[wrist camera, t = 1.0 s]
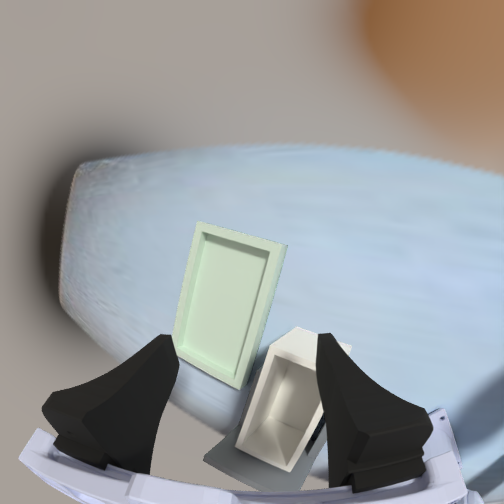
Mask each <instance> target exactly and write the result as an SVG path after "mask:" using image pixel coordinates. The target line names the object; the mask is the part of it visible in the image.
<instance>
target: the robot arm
mask: <svg viewBox="0 0 504 504" xmlns="http://www.w3.org/2000/svg"><path fill="white" fill-rule="evenodd" d="M179 365H180V364H179V361H178V357H177V354H176V351H175V347H174V344H173V340H172V337H171V335H164V334H160V335H159V336H157V337H156V338H155V339H153V340H152V341H151V342H150V343H148V344H147V345H146V346H145V347H143V348H142V349H141V350H140V351H138V352H137V353H136V354H134V355H133V356H132V357H130V358H129V359H128V360H126V361H125V362H123V363H122V364H121V365H119V366H118V367H116V368H114V369H113V370H111V371H109V372H108V373H106V374H104V375H102V376H100V377H98V378H96V379H94V380H91V381H89V382H87V383H84V384H81V385H79V386H75V387H72V388H69V389H65V390H60V391H56V392H53V393H52V394H51V395H50V397H49V398H48V399H47V401H46V402H45V404H44V405H43V406H42V412H43V414H44V416H45V418H46V419H47V420H48V422H49V423H50V424H51V425H52V427H53V428H54V429H55V430H56V431H57V433H58V434H59V435H58V436H57V438H56V437H54V436H53V435H52V434H50V433H48V432H46V431H44V430H42V429H40V428H37V430H36V431H35V432H34V434H33V435H32V437H31V439H30V440H29V442H28V443H27V445H26V446H25V448H24V450H23V451H22V453H21V454H20V456H19V460H20V461H21V462H22V463H23V464H24V465H25V466H27V467H28V468H29V469H30V470H31V471H32V472H33V473H35V474H36V475H37V476H38V477H39V478H41V479H42V480H43V481H44V482H46V483H47V484H49V485H50V486H52V487H54V488H55V489H57V490H59V491H60V492H62V493H64V494H66V495H67V496H69V497H71V498H73V499H75V500H77V501H78V502H80V503H82V504H484V502H483V500H482V498H481V496H480V495H479V493H478V492H477V491H470V490H468V489H467V488H466V485H465V482H464V479H463V476H462V474H461V471H460V470H461V469H462V468H463V466H462V462H461V459H460V455H459V451H458V448H457V444H456V441H455V438H454V434H453V431H452V428H451V425H450V422H449V419H448V416H447V413H446V410H445V409H444V408H441V409H438V410H436V411H435V412H433V413H431V414H429V415H428V414H427V412H426V411H425V409H424V408H422V407H419V406H417V405H414V404H412V403H409V402H407V401H405V400H403V399H401V398H399V397H397V396H396V395H394V394H392V393H390V392H389V391H387V390H386V389H384V388H383V387H381V386H380V385H378V384H377V383H376V382H375V381H373V380H372V379H371V378H370V377H369V376H367V375H366V374H365V373H364V372H363V371H362V370H361V369H360V368H359V367H358V366H357V365H356V364H355V363H354V362H353V360H352V359H351V358H350V357H349V356H348V355H347V354H346V352H345V351H344V350H343V349H342V347H341V346H340V345H339V343H338V342H337V341H336V339H335V338H334V336H333V335H332V334H331V333H324V334H318V339H317V353H316V365H315V366H316V376H317V384H318V389H319V394H320V398H321V403H322V407H323V412H324V417H325V423H326V432H327V445H328V466H329V488H327V489H318V490H307V491H285V492H256V491H236V490H224V489H220V488H216V487H210V486H205V485H198V484H191V483H185V482H180V481H174V480H170V479H165V478H161V477H156V476H152V475H150V467H151V460H152V453H153V448H154V443H155V438H156V434H157V430H158V426H159V422H160V419H161V416H162V413H163V411H164V408H165V406H166V403H167V401H168V399H169V396H170V394H171V391H172V389H173V386H174V384H175V381H176V378H177V374H178V370H179ZM442 416H444V418H443V419H440V418H441V417H442ZM457 462H458V463H457Z"/></svg>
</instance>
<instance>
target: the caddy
mask: <svg viewBox="0 0 504 504" xmlns="http://www.w3.org/2000/svg"><path fill="white" fill-rule="evenodd" d="M317 339H318V334H316V333H313V332H310V331H308V330H305V329H302V328H299V327H297V326H296V327H295V328H294V329H292V330H291V331H289V332H288V333H287V334H285V335H284V336H282V337H281V338H280V339H278V340H277V341H275V342H274V343H272V344H271V345H270V347H269V350H268V353H267V356H266V359H265V362H264V365H263V368H262V371H261V374H260V377H259V380H258V383H257V386H256V389H255V392H254V395H253V398H252V401H251V403H250V406H249V409H248V412H247V415H246V418H245V420H244V423H243V426H242V429H241V431H240V434H239V437H238V439H237V442H236V445H235V447H236V448H238V449H240V450H242V451H244V452H246V453H248V454H250V455H252V456H254V457H256V458H258V459H260V460H262V461H265V462H267V463H269V464H271V465H273V466H276V467H278V468H280V469H283V470H285V471H288V472H291V470H292V469H293V467H294V465H295V464H296V462H297V460H298V459H299V457H300V455H301V453H302V452H303V450H304V448H305V446H306V445H307V443H308V441H309V439H310V437H311V436H312V434H313V432H314V430H315V428H316V426H317V424H318V422H319V420H320V418H321V417H322V415H323V413H324V412H323V407H322V403H321V398H320V394H319V389H318V384H317V376H316V366H315V365H316V353H317ZM337 342H338V343H339V345H340V346H341V347H342V349H343V350H344V351H345V352H346V354H347V355H348V356H349V353H350V350H351V348H352V346H351V345H348V344H345V343H342V342H339V341H337Z"/></svg>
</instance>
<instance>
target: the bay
mask: <svg viewBox="0 0 504 504" xmlns="http://www.w3.org/2000/svg"><path fill="white" fill-rule="evenodd" d="M262 368H263V366H262V367H260V368H259V369H258V370H257V371H256V374H255V377H254V381H253V384H252V387H251V390H250V393H249V396H248V399H247V401H246V404H245V407H244V410H243V413H242V416H241V419H240V422H239V425H238V426H237V427H236V428H235V429H234V430H233V431H232V432H230V433H229V434H228V435H227V436H226V437H225V438H224V439H223V440H222V441H221V442H219V443H218V444H217V445H216V446H215V447H214V448H212V449H211V450H210V451H209V452H208V453H206V454H205V456H204V459H203V461H204V462H206V463H208V464H210V465H211V466H213V467H215V468H216V469H218V470H220V471H222V472H224V473H226V474H227V475H229V476H231V477H233V478H235V479H236V480H238V481H240V482H242V483H244V484H246V485H248V486H251V487H253V488H255V489H257V490H259V491H261V492H285V491H299V490H300V489H301V487H302V485H303V483H304V481H305V479H306V477H307V475H308V473H309V471H310V469H311V467H312V465H313V463H314V461H315V459H316V457H317V456H318V454H319V452H320V451H321V449H322V447H323V446H324V444H325V442H326V441H327V432H326V423H324V425H323V427H322V429H321V431H320V433H319V434H318V436H317V438H316V440H315V442H314V441H312V440H309V441H308V443H307V445H306V446H305V448H304V450H303V452H302V453H301V455H300V457H299V459H298V460H297V462H296V464H295V465H294V467H293V469H292V470H291V472H288V471H285V470H283V469H280V468H278V467H276V466H273V465H271V464H269V463H267V462H265V461H262V460H260V459H258V458H256V457H254V456H252V455H250V454H248V453H246V452H244V451H242V450H240V449H238V448H236V447H235V445H236V442H237V439H238V437H239V434H240V431H241V429H242V426H243V423H244V420H245V418H246V415H247V412H248V409H249V406H250V403H251V401H252V398H253V395H254V392H255V389H256V386H257V383H258V380H259V377H260V374H261V371H262Z"/></svg>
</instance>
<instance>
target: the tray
mask: <svg viewBox="0 0 504 504" xmlns="http://www.w3.org/2000/svg"><path fill="white" fill-rule="evenodd" d="M287 248H288V245H284V244H281V243H277V242H274V241H270V240H266V239H263V238H259V237H256V236H252V235H248V234H245V233H241V232H238V231H234V230H230V229H227V228H223V227H219V226H216V225H212V224H208V223H204V222H199V221H197V224H196V228H195V232H194V236H193V240H192V245H191V249H190V253H189V257H188V262H187V266H186V270H185V275H184V279H183V284H182V289H181V294H180V298H179V303H178V308H177V313H176V318H175V324H174V329H173V334H172V340H173V344H174V347H175V351H176V354H177V356H179V357H180V358H182V359H184V360H185V361H187V362H189V363H191V364H192V365H194V366H196V367H197V368H199V369H201V370H203V371H204V372H206V373H208V374H210V375H212V376H213V377H215V378H217V379H219V380H221V381H223V382H225V383H227V384H228V385H230V386H232V387H234V388H236V389H238V390H241V389H242V388H243V387H244V386H246V385H247V383H248V380H249V377H250V374H251V371H252V368H253V364H254V361H255V358H256V355H257V351H258V348H259V345H260V342H261V338H262V335H263V332H264V328H265V325H266V322H267V318H268V315H269V312H270V308H271V305H272V301H273V298H274V294H275V291H276V287H277V284H278V280H279V277H280V273H281V269H282V266H283V262H284V259H285V255H286V251H287Z"/></svg>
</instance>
